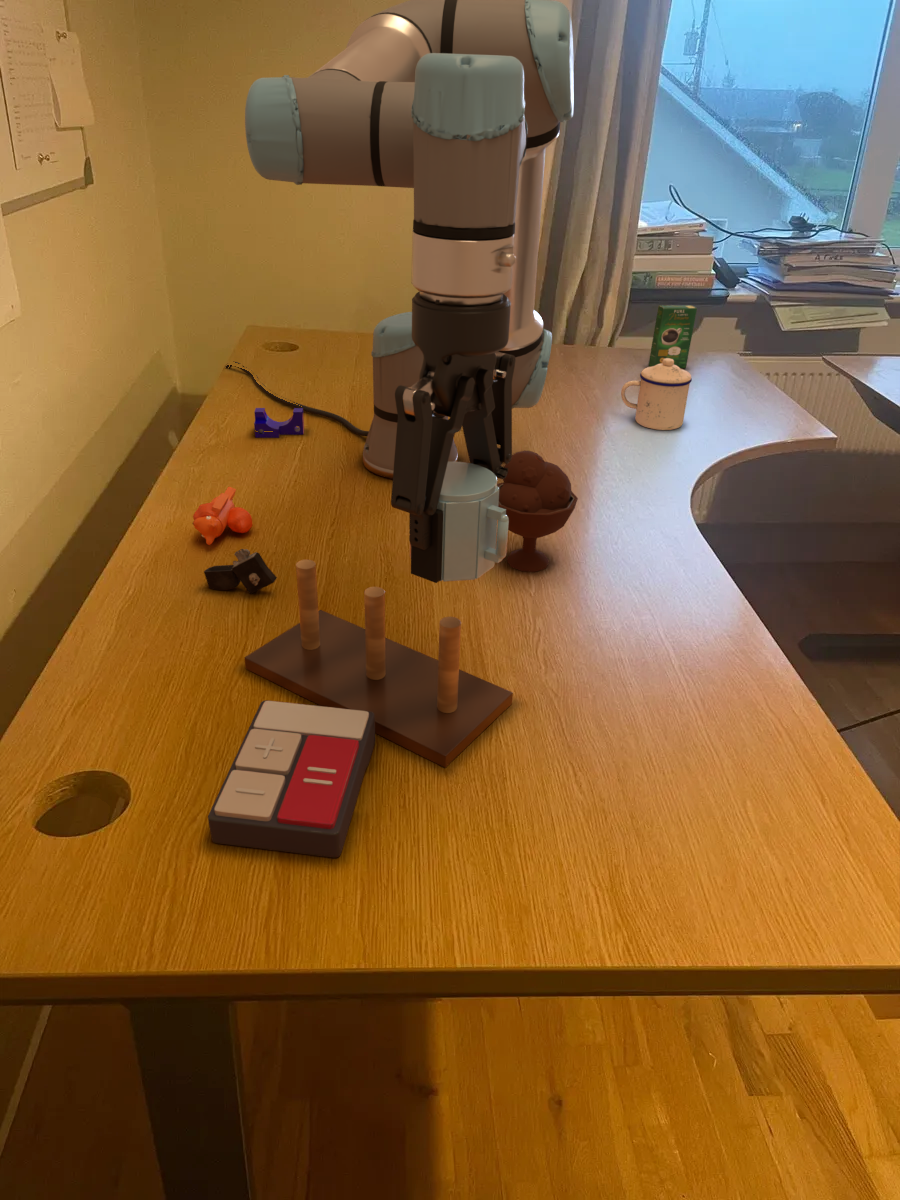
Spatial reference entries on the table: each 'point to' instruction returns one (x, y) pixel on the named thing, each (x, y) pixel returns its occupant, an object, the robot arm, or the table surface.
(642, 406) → the teacup with lid
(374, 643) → the peg rack
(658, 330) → the coffee box
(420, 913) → the table surface
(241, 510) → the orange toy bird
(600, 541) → the table surface
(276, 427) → the cable holder
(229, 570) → the lighter
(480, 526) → the blue cup
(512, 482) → the ice cream bowl
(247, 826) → the calculator
